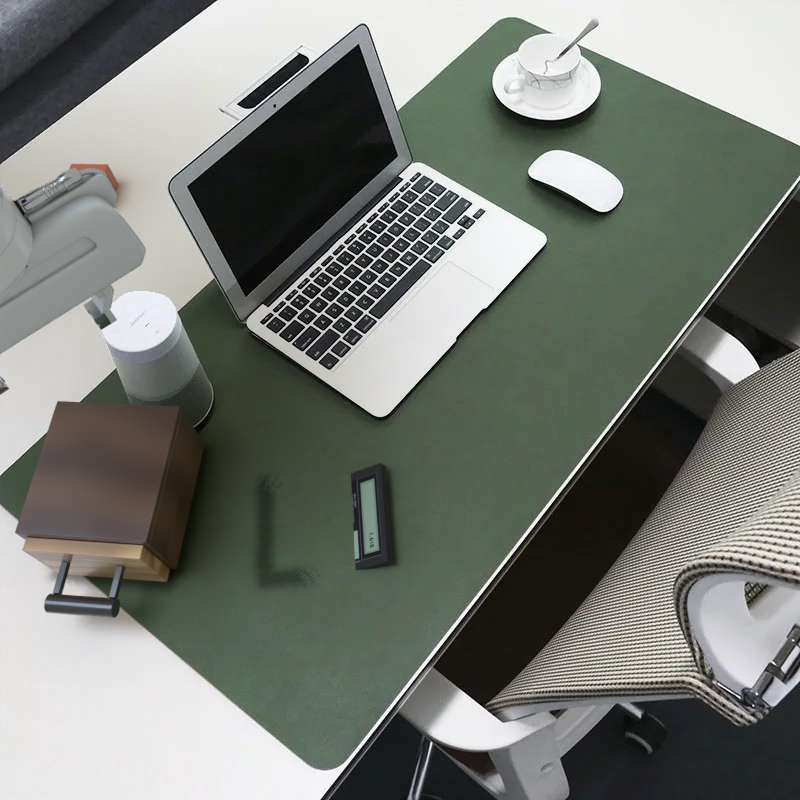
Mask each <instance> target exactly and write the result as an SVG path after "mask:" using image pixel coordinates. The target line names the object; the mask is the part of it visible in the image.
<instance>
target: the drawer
mask: <svg viewBox="0 0 800 800" xmlns="http://www.w3.org/2000/svg"><path fill="white" fill-rule="evenodd" d="M22 551H23V552H24V553H26V554H28V555H29V556H31V557H32V558H34V559H35V560H37V561H38V562H40V563H41V564H43V565H44V566H46V567H48V568H49V569H50V570H51V571H54V572H55V573H57V577H56V579H55V584H54V586H53V591H52V593H49V594H47V596H46V597H45V600H44V603H43V608H44V612H45V613H47V614H59V615H69V616H81V617H93V618H95V617H96V618H107V619H116V618H117V617H118V615H119V614H120V610H121V601H120V599H118V598H119V594H120V590H121V587H122V583H123V580H137V581H138V580H139V581H149V582H164V583H167V582H168V580H169V575H170V572H171V569H169V568H168V567H167V566H166V565H165V564H164V563H162V562H161V561H160V560H159V559H158V558H157V557H156V556H155V555H153V554H152V553H151V552H150V551H149V550H148V549H147V548H146V547H144V546H143V545H141V544H132V543H118V542H103V541H89V540H74V539H48V538H33V537H26V540H25V539H24V544H23V547H22ZM69 575H70V576H81V577H97V578H107V579H108V578H111V579H112V583H111V586H110V590H109V594H108V597H104V596H103V597H101V596H89V595H88V596H87V595H74V594H63V593H64V588H65V586H66V581H67V578H68V576H69Z"/></svg>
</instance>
